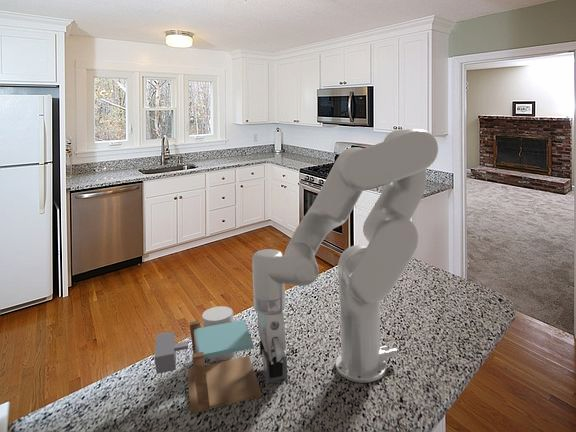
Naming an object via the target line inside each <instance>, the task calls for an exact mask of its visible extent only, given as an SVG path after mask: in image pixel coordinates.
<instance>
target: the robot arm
mask: <svg viewBox="0 0 576 432" xmlns="http://www.w3.org/2000/svg"><path fill="white" fill-rule="evenodd" d="M438 152H439V144H438V141H437V140H436V138H435V136H434V135H433V134H432V133H431V132H428V131H427V130H424V129H419V128H400V129H399V128H398V129H396V130H395V129H394V130H392V131H391V132H389V133H388V134H387V135H386V136H385V137H384V140H383V141H381V142H379V143H376V144H373V145H369V146H366V147H356V146H355V147H348V148H346V149H344V150H343V151H342V152H341V153H340V154H339V155H338V157H337V158H336V160H335V162H334V163H333V166H332V168H331V169H330V171H329V173H328V175H327V177H326V179H325V181H323V182H324V183H323V184H322V186H321V188H320V190H319V191H318V194H317V195H316V198H315V199H314V201H313V203H312V205H311V206H310V207H309V208H308V210H307V212H306V214H305V215H304V216H303V217H302V219H301V221H300V222H299V223H298V225H297V227H296V228H295V231H294V233H293V234H292V236H291V238H290V240H289V241H288V244H287V245H286V248H285V251H284V254H283V252H282V251H280V250H277V249H273V248H270V249H269V248H266V249H260V250H257V251H256V252H255V253H254V254H253V255H252V260H251V263H252V264H251V265H252V267H251V268H252V269H251V270H252V289H253V290H252V292H253V293H252V294H253V309H254V311H255V312H257V330H258V336H259V354H260V356H262V349H265V351H266V352H267V353H269V358H270V362H269V377H270V378H275V377H280V376H282V375H283V360H282V352H281V350H284V351H286V349H287V343H286V328H285V327H286V326H285V317H284V312H283V311H284V310H285V308H286V285H291V286H295V287H297V286H298V287H302V286H303V287H305V286H309V285H311V284H313V283H314V282H315V281H316V280H317V279H318V276H319V274H320V269H319V265H318V262H317V259H316V254H317V252H318V251H319V248H320V247H321V245H322V242H324V240H325V238H326V237H327V236H328V234H330V232H331V231H332V230H334V229H336V228H338V227H340V226H342V225H343V224H344V223H345V222H347V220H348V219H349V216H350V215H351V213H352V211H353V210H354V208H355V206H356V204H357V202H358V200H359V198H360V196H361V195H362V193H363V192H365V191H370V190H374V189H378V188H380V187H383V186H384V187H383V190H382V191H381V193H380V195H379V197H378V198H377V200H376V201H375V203H374V205H373V207H372V208H371V210H370V212H369V214H368V215H367V216H366V218H365V220H364V222H363V225H362V226H363V227H362V233H363V235H364V237H365V239H366V241H367V242H368V244H367V246H364V245H358V244H357V245H352V246H349V247H347V248H346V249H345V250H343V252H342V253H341V254H340V256H339V259H338V262H337V274H338V284H339V285H338V286H339V299H340V302H339V303H340V304H339V305H340V311H339V312H340V344H341V345H340V352H341V353H340V354H338V356H337V357H336V359H335V362H334V365H335V370H336V372H337V373H338V374H339V375H340V376H341V377H342V378H344V379H345V380H346V379H347V381H351V382H355V383H360V384H361V383H363V384H364V383H372V382H375V381H378V380H380V379H382V378H383V377H384V375H385V374H386V372H387V363H386V361H387V359H389V358H394V357H397V356H398V350H397V348H395V347H394V348H390V349H388V346H387V345H381V302H382V300H384V299H385V298H387V297H388V295H389V294H390V293H391V292H392V290H393V289H394V287H395V286H396V284H397V282H398V281H399V280H400V278H401V277H402V274H404V271H406V267H407V266H408V265H409V263H410V262H411V260H412V259H413V256H414V255H415V253H416V250H417V247H418V243H419V233H418V230H417V227H416V226H415V223H413V221H412V220H411V219H412V217H413V215H414V213H415V212H416V211H417V208H418V206H419V205H420V203H421V200H422V199H423V196H424V193H425V189H426V184H427V172H426V169H428V168H429V167H431V165H433V164H434V162H435V161H436V159H437V156H438ZM272 347H274V349H272V350H271V348H272ZM274 352H275V357H272V353H274Z"/></svg>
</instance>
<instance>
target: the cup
mask: <svg viewBox="0 0 576 432" xmlns="http://www.w3.org/2000/svg"><path fill="white" fill-rule="evenodd" d="M201 318H202V325H203V327H208V326H213V325H219V324H224V323H230V322H235V320H234V311H233V309H232V308H231V307H229V306H226V305H225V306H222V305H220V306H212V307H211V308H208V309H206V310H205V311H204V312H202V315H201ZM203 327H202V328H203ZM236 353H237V352H233V353H228V354H223V355H218V356H213V357H208V358H207V359H210V361H211V360H212V362H217V361H219V362H222V361H227V360H231V359H232V358H233V357H235V355H236Z"/></svg>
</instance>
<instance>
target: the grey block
mask: <svg viewBox="0 0 576 432" xmlns="http://www.w3.org/2000/svg"><path fill="white" fill-rule="evenodd" d="M272 349H274V347H272V348H271V350H272ZM281 352H282V360H283V375H282V376H280V377H275V378H270V377H269V362H270V358H269V353H267V352H266V351H265V349H262V355H261V356H262V369H263V373H264V375H265V378H266V381H267V383H271V382H276V381H280V380H284V379H288V378H289V377H288V363H287V362H288V360H287V355H286V353H285V350H281ZM272 357H275V352H274V353H272Z"/></svg>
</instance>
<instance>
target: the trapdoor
mask: <svg viewBox="0 0 576 432" xmlns="http://www.w3.org/2000/svg"><path fill="white" fill-rule="evenodd" d="M193 332H194V342H195V353H200V352H204V359H208V357H213V356H218V355H223V354H228V353H233V352H236V353H237V352H242V351H246V350H251V349H254V348H255V347H254V341H253V339H252V337H251V334H250V331H249V329H248V326H247V323H246V321H245V319H242V320H234V322H230V323H224V324H219V325H213V326H208V327H200V328H195V329H194V330H193ZM175 337H176V336H175V331H174V330H173V331H166V332H161V333H156V335H155V348H154V364H155V371H156V375H158V374H163V373H167V372H172V371H177V354H176V353H177V352H179V351H183V350H188V349H189V341H188V340H186V341H182V342H176V338H175Z"/></svg>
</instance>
